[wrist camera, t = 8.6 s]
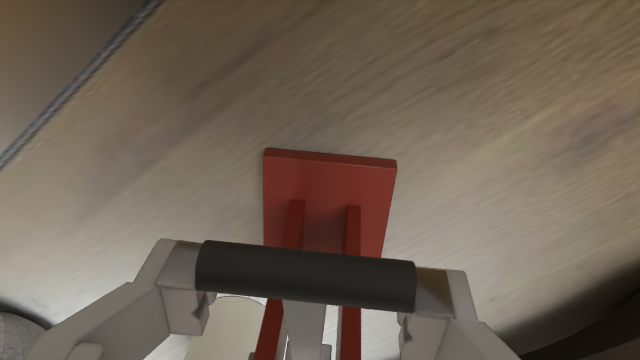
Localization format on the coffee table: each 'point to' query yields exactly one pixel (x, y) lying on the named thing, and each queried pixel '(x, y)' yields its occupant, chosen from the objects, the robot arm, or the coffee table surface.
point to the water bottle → (228, 330)
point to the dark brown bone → (599, 338)
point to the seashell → (16, 336)
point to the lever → (306, 285)
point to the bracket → (323, 226)
